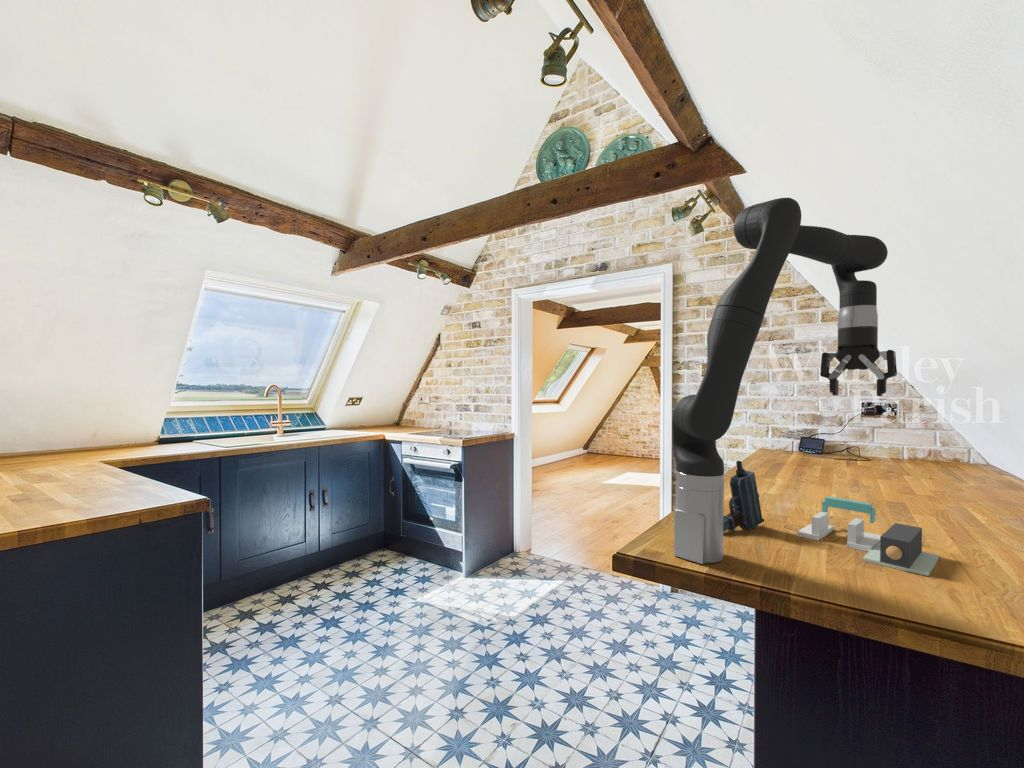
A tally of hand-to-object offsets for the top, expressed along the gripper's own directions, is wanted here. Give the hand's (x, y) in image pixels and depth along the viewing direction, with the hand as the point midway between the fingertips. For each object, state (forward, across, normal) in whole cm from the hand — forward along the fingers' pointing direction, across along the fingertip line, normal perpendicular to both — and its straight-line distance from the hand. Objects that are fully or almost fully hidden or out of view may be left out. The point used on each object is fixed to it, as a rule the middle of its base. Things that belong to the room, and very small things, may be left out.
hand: (856, 395), depth 109 cm
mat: (+33, -10, +10) cm, 36 cm away
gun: (+33, +20, +16) cm, 42 cm away
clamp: (+33, +2, +4) cm, 33 cm away
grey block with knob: (+32, -10, +10) cm, 35 cm away
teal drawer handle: (+30, +2, -3) cm, 30 cm away
